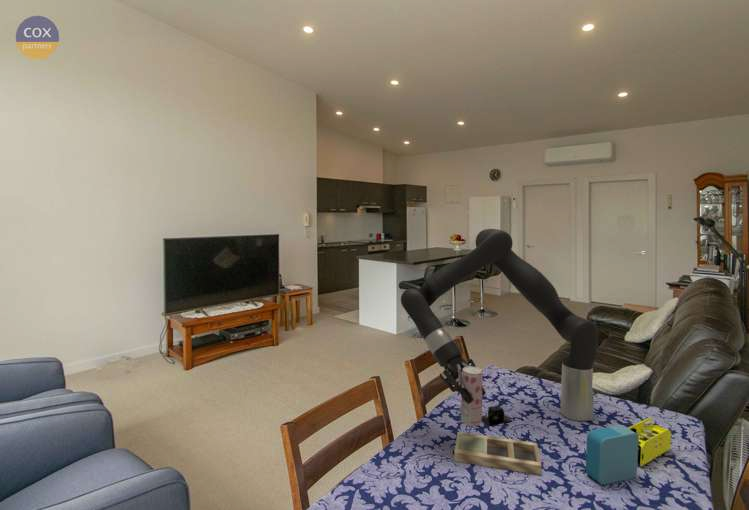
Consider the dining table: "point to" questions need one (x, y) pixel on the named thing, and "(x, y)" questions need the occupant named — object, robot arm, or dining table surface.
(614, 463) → the data package
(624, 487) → the dining table surface
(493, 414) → the black open box
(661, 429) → the yellow toy chassis
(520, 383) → the dining table surface
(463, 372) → the beverage can
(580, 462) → the dining table surface
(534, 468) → the board
